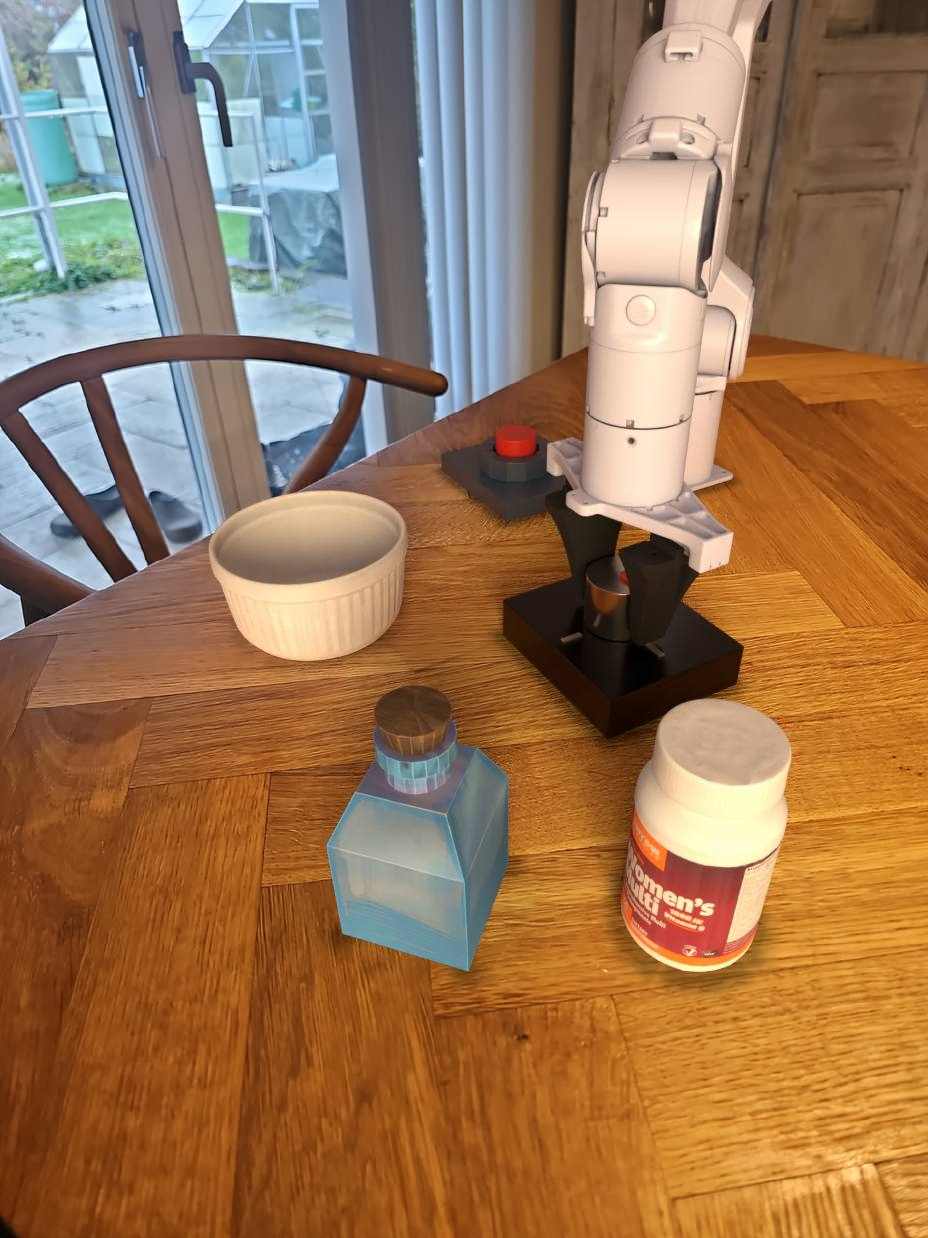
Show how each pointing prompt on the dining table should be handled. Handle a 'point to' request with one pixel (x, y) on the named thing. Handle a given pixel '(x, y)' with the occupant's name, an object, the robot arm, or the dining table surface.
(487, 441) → the button block
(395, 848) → the perfume bottle
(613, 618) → the dial
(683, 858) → the pill bottle
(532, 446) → the button
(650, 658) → the panel
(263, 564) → the ramekin
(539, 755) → the dining table surface
